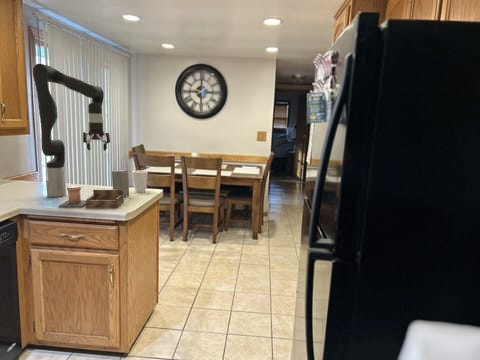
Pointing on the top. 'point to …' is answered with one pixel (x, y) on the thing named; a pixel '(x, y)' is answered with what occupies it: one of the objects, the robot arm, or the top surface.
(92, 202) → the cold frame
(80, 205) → the slate mat
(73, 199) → the flowerpot
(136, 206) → the top surface
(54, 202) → the top surface
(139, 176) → the foam cup
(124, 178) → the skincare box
